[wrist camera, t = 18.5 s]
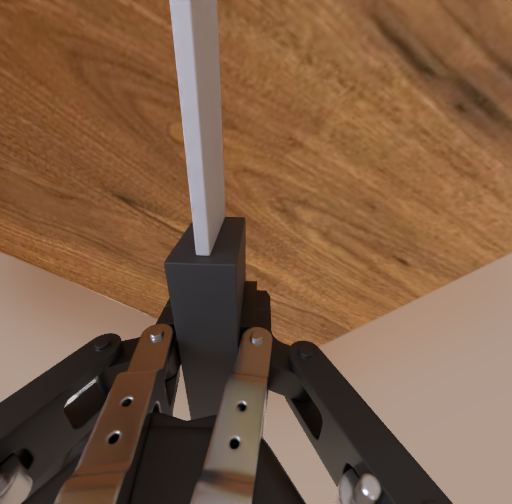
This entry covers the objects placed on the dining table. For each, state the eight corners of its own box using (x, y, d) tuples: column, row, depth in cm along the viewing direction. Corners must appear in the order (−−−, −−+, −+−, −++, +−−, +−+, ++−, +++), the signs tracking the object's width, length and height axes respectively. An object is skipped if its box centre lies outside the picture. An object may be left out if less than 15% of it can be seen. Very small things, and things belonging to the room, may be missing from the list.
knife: (245, -158, 7) (220, -514, 3) (245, 349, 16) (239, 423, 12) (159, -158, 7) (26, -510, 3) (208, 348, 16) (190, 421, 12)
